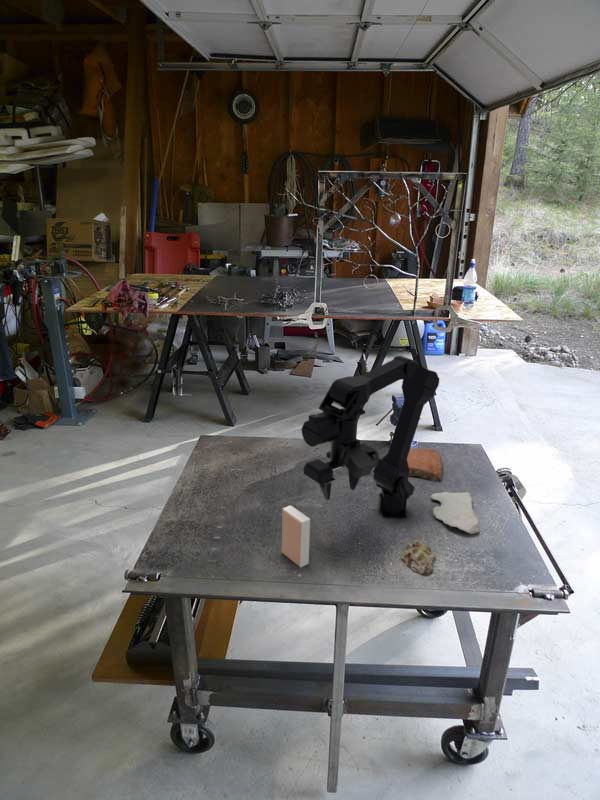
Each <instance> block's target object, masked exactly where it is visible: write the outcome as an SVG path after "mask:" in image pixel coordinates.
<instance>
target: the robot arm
mask: <svg viewBox="0 0 600 800" xmlns="http://www.w3.org/2000/svg"><path fill="white" fill-rule="evenodd" d="M400 380H402V384H401V390H402V396H403V403H402V406H401V409H400V413H399V414H398V415H399V416H398V419H397V422H396V426H395V429H394V431H393V435H392V439H391V441H390V445H389V448H388V452H387V453H386V454H385V455H384V456H383V457H381V458H380V452H378V451H377V450H376V449H375V448H373V447H371V446H370V445H367V444H366V443H361V440H360V439H358V438H357V433H358V421H359V420H358V419H359V416H362V415H364V414H366V410H364V409H363V408H362V407H363V406H364V405H366V404H367V403H368V402H369V399H370V398H371V396H372V395H374V394H376V393H377V392H379V391H381V390H383V389H385V388H386V387H388V386H390V385H393V384H394V383H396V382H398V381H400ZM439 385H440V377H439V376H438V373H437V371H434V370H431V369H429V368H425V367H423V366H422V365H420V364H418V363H417V362H416V361H414V359H412V358H408V357H406V356H403V355H397V356H394V357H393V359H391V360H389V361H387V362H385V363H383V364H382V365H380V366H377V367H376V368H373V369H372V370H368V371H367V372H364V373H363V374H360V375H355V376H354V375H353V376H350V375H349V376H345V377H341V378H338V379H336V380H333V382H332V383H331V386H330V387H329V389H328V391H327V393H326V395H325V396H324V397H323V400H322V401H321V403H320V405H319V406H318V409H319V410H320V411H322V412H319V413H315V414H314V413H313V414H310V415H308V420H306V421H304V422H303V424H302V427H301V434H302V438H303V440H304V442H305V443H306V444H307V446H309V447H313V448H314V447H317V446H319V445H322V444H326V443H330V449H329V450H330V451H327V452H326V455H325V456H326V458H327V459H329V461H327V462H324V461H322V460H321V459H319V458H317V459H314V460H311V461H307V462H305V464H304V465H303V475H305V476H306V477H308V478H310V479H311V480H313V481H314V482H316V483H317V484H318V485H319V488H320V490H321V492H322V494H323V497H324V499H325V500H326V501H330V499H331V498H330V497H331V490H332V483H333V482H334V481H336V478H334V471H335V470H338V469H341V468H345V467H346V468H347V470H348V471H347V472H348V473H347V474H348V482H349V483H348V484H349V488H350V490H352V491H355V490H356V487H357V486H358V483H359V482H360V479H361V478H362V477H365V476H368V475H369V476H370V475H371V473H373V476H372V477H373V480H374V482H375V486H376V487H377V488H379V489H380V493H378V500H377V507H378V512H380V513H381V517H382V518H383V519H384V518H385V519H388V518H407V517H408V513H407V511H406V510H407V504H408V503H407V501H408V500H410V497H411V496H412V495H413V494H414V492H415V488H416V487H415V486H414V485H413V484H412V482H410V481H409V477H410V476H409V467H408V462H407V457H408V454H409V451H410V450H411V449H412V448H411V447H412V444H413V441H414V437H415V435H416V431H417V428H418V425H419V421H420V419H421V415H422V412H423V409H424V406H425V405H426V404H427V403H428V402H429V401H430V400H432V399H433V398H434V396H435V393H436V391H437V389H438V387H439ZM332 404H335V405H337V406H338V407H336V406H334V405H332ZM339 407H341V408H339ZM372 470H373V471H372Z"/></svg>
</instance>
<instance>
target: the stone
mask: <svg viewBox="0 0 600 800" xmlns="http://www.w3.org/2000/svg"><path fill="white" fill-rule="evenodd" d="M430 499H432V500H434V501H437V502H439V503H440V506H438V505H437V506H435V507H434V508H433V516H434V518H436V519H437V520H439V521H442V522H443V523H444V524H445V525H448V526H449V527H453V528H458V529H459V530H460V531H462V532H463V531H464V532H465V533H467V534H471V535H473V534H477V533H478V532H480V527H479V523H480V522H479V519H478V518H477V516H476V514H475V511H474V509H473V507H474V506H473V505H474V500H473V498H472V496H471V494H470V492H467V491H466V492H447V491H443V492H435V493H432V494H431V496H430Z"/></svg>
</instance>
